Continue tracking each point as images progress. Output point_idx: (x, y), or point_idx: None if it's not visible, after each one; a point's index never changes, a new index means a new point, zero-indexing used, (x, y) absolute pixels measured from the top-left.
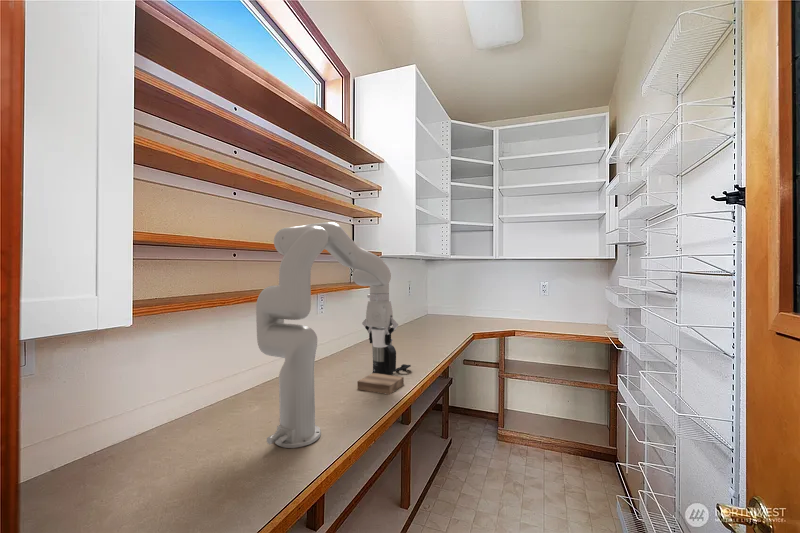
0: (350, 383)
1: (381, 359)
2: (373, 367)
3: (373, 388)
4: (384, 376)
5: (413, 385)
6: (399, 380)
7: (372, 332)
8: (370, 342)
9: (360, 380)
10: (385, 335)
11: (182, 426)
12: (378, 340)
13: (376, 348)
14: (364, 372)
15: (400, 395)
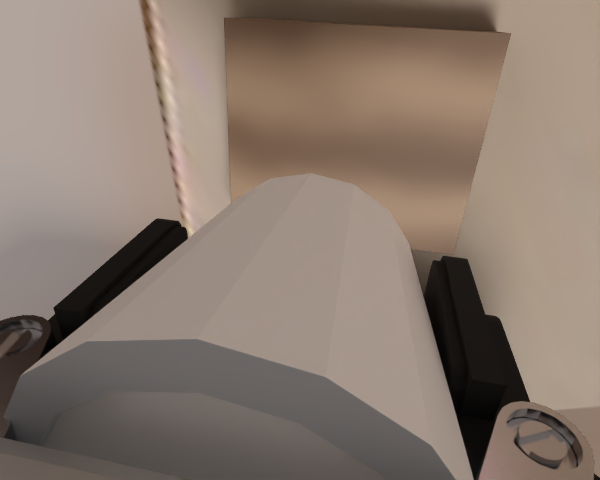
0: (593, 129)
1: None
2: None
3: (359, 24)
4: None
5: (194, 209)
6: (231, 170)
7: (387, 341)
8: (453, 261)
9: (492, 65)
10: (89, 302)
11: None
12: (249, 214)
13: None
14: (552, 340)
15: (177, 29)
